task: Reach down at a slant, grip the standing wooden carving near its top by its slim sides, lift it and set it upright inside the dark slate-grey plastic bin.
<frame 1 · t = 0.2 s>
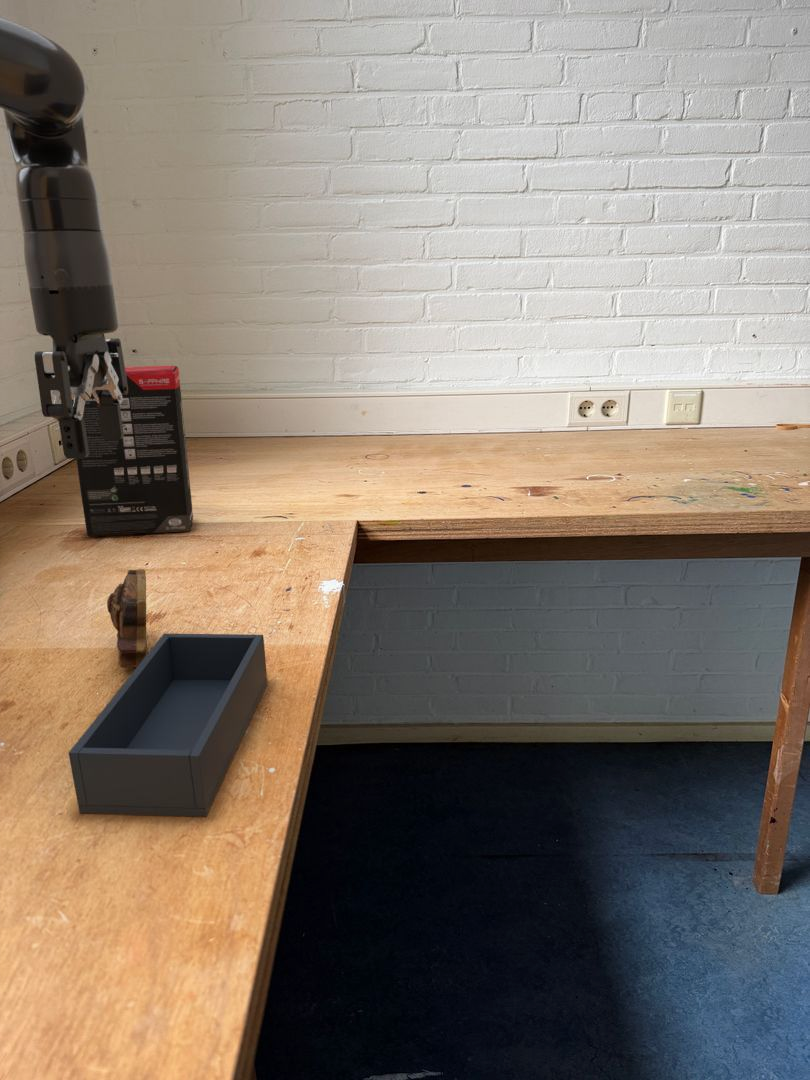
hand: (96, 448, 82), 25 cm above the table, tool pointing down, fingers open, 8 cm apart
graphics card box: (143, 531, 135), on the table
wooden carving: (137, 660, 91), on the table
bin: (185, 740, 75), on the table
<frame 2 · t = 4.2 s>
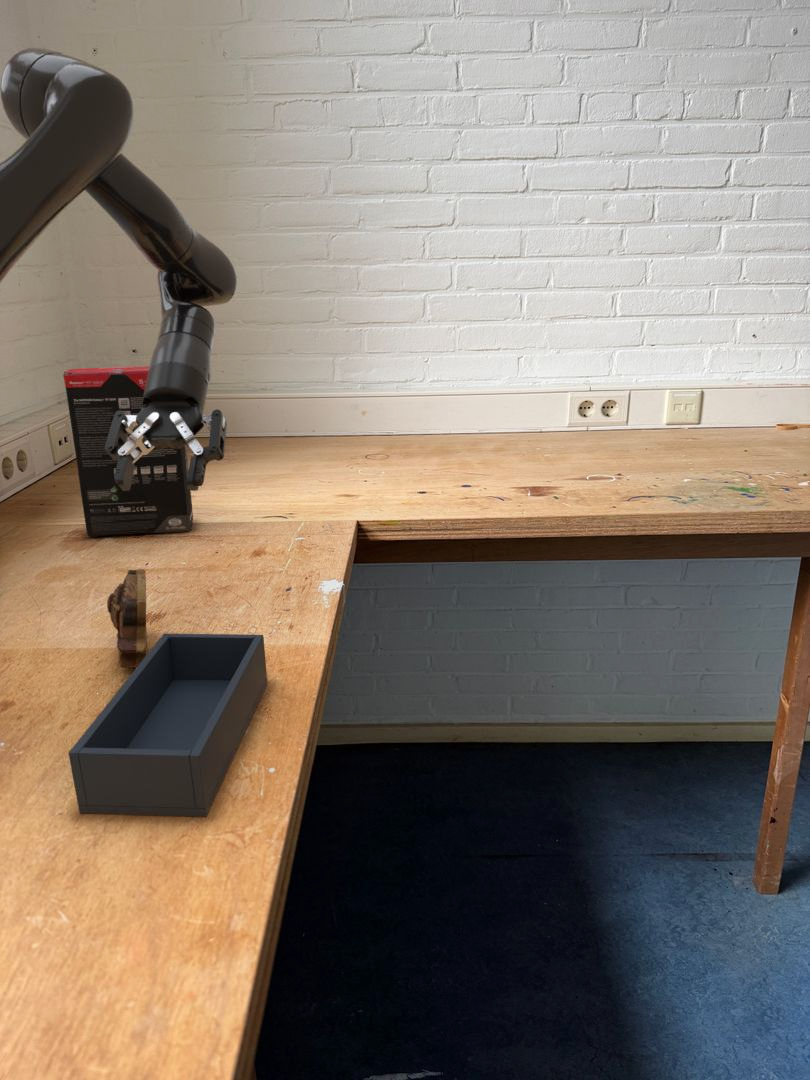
hand: (157, 487, 96), 17 cm above the table, tool tilted 45°, fingers open, 8 cm apart
nothing on the table moved.
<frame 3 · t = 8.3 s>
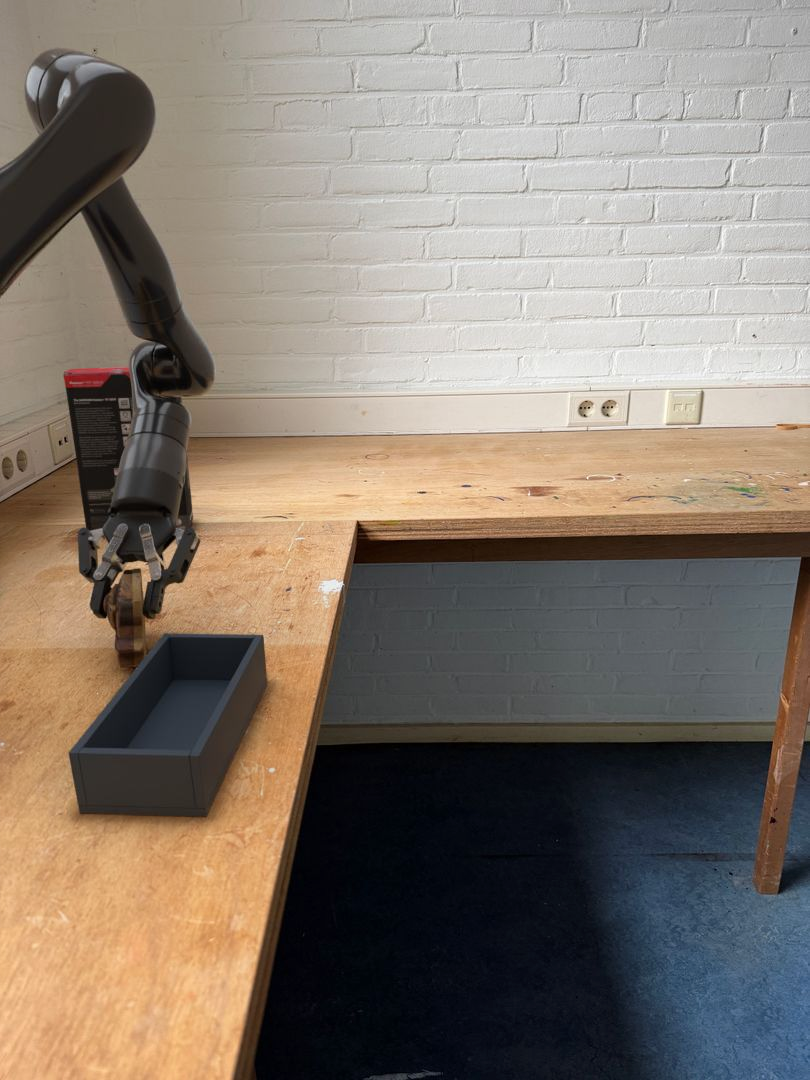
hand: (124, 615, 87), 6 cm above the table, tool tilted 45°, fingers closed on wooden carving, 5 cm apart
wooden carving: (137, 659, 91), on the table, touching gripper
everything else where it was.
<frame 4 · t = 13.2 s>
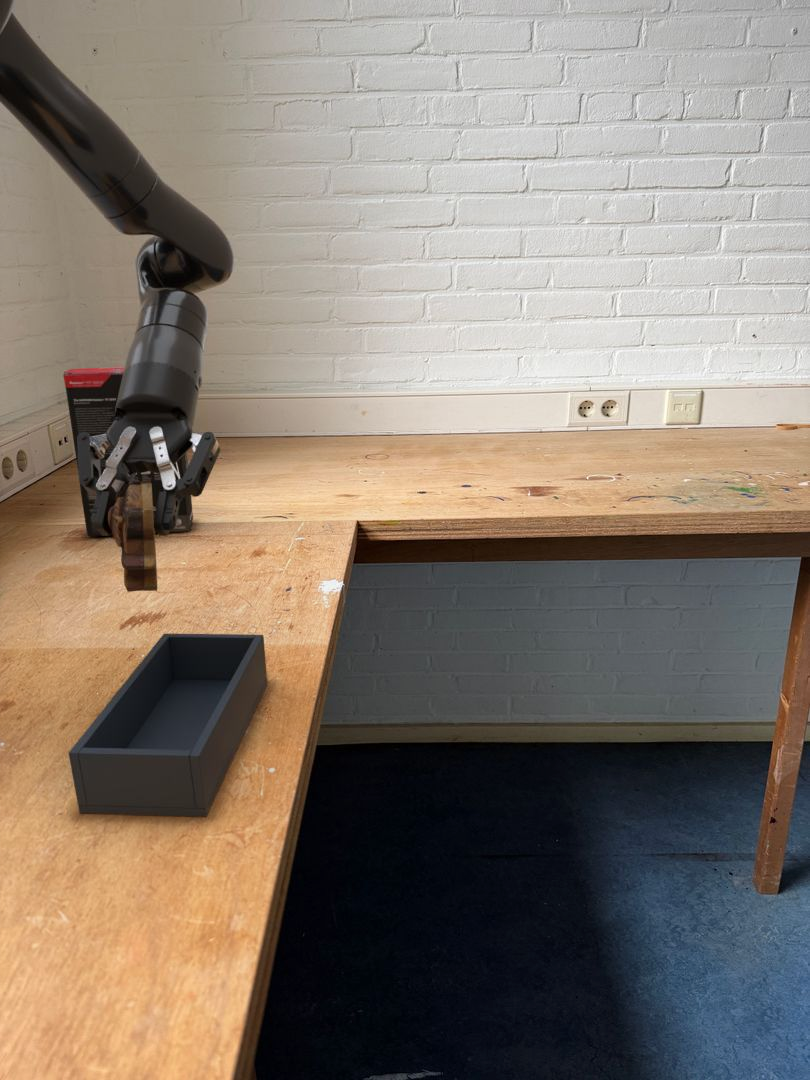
hand: (132, 531, 74), 19 cm above the table, tool tilted 45°, fingers closed on wooden carving, 5 cm apart
wooden carving: (146, 586, 78), point 13 cm above the table, touching gripper
everything else where it was.
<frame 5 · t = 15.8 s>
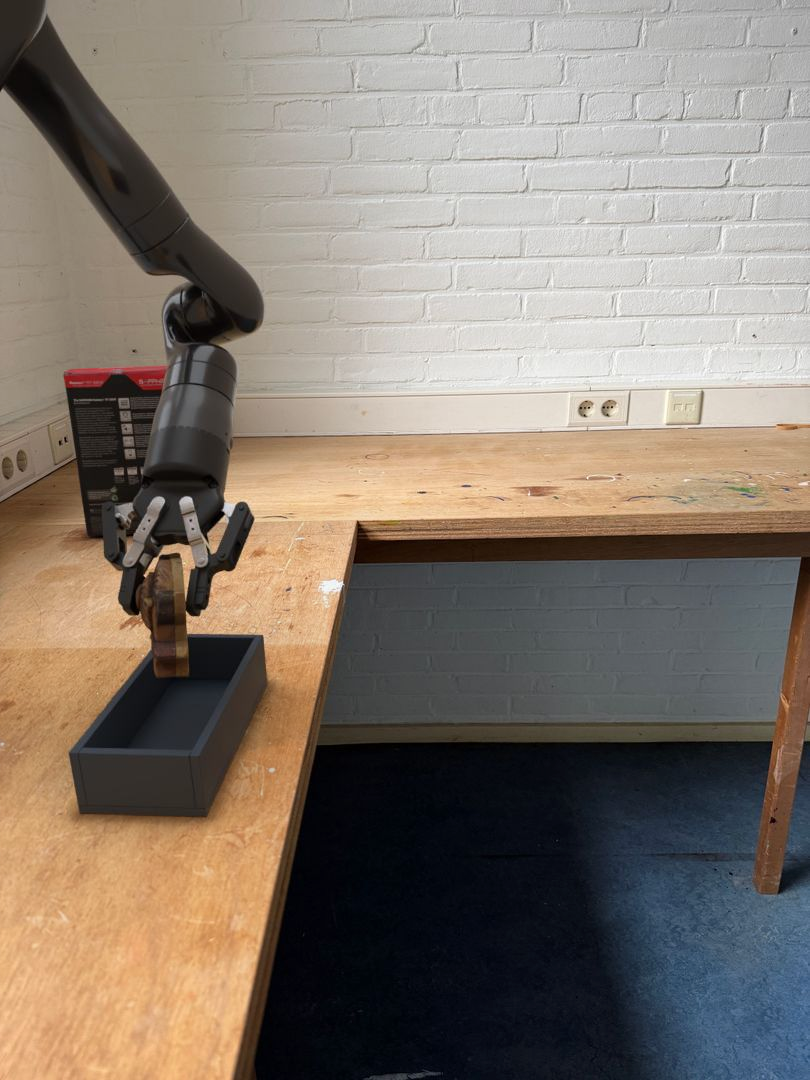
hand: (161, 612, 69), 14 cm above the table, tool tilted 45°, fingers closed on wooden carving, 5 cm apart
wooden carving: (176, 666, 73), point 8 cm above the table, touching gripper
everything else where it was.
when the fingers open (7 cm above the table, at t = 18.2 s): wooden carving stays where it is, resting on bin.
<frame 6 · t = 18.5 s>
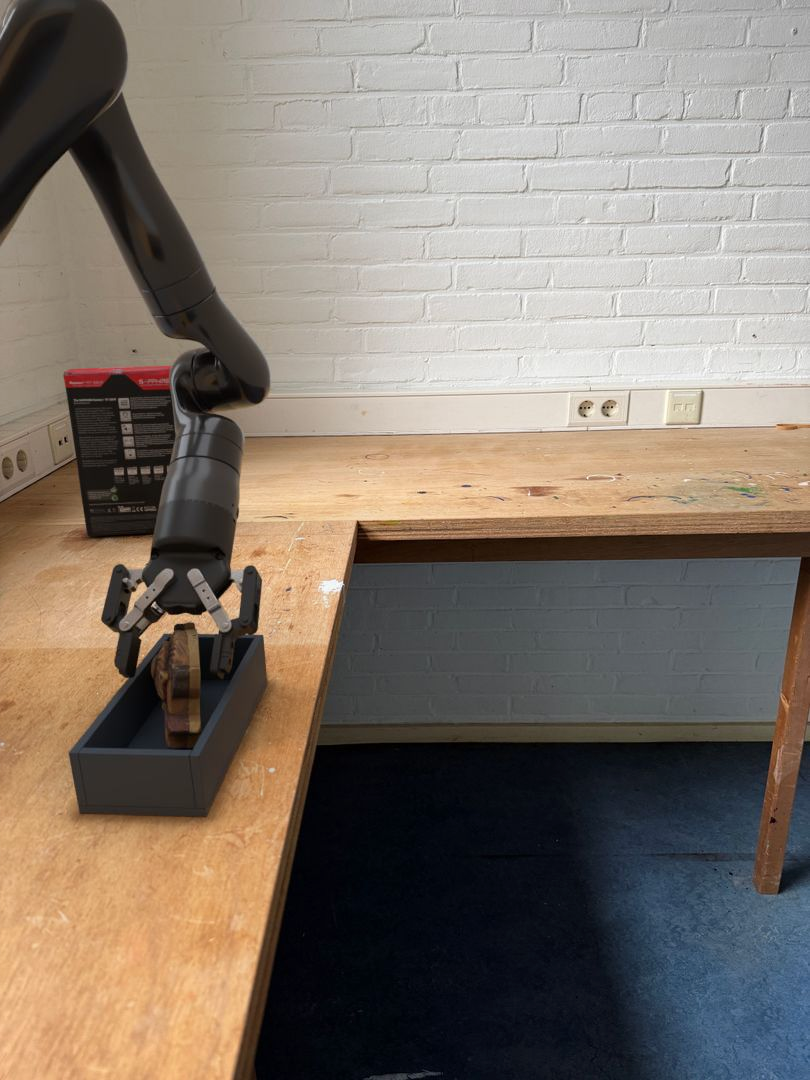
hand: (171, 676, 71), 8 cm above the table, tool tilted 45°, fingers open, 8 cm apart
wooden carving: (185, 733, 75), point 1 cm above the table, touching bin
everything else where it was.
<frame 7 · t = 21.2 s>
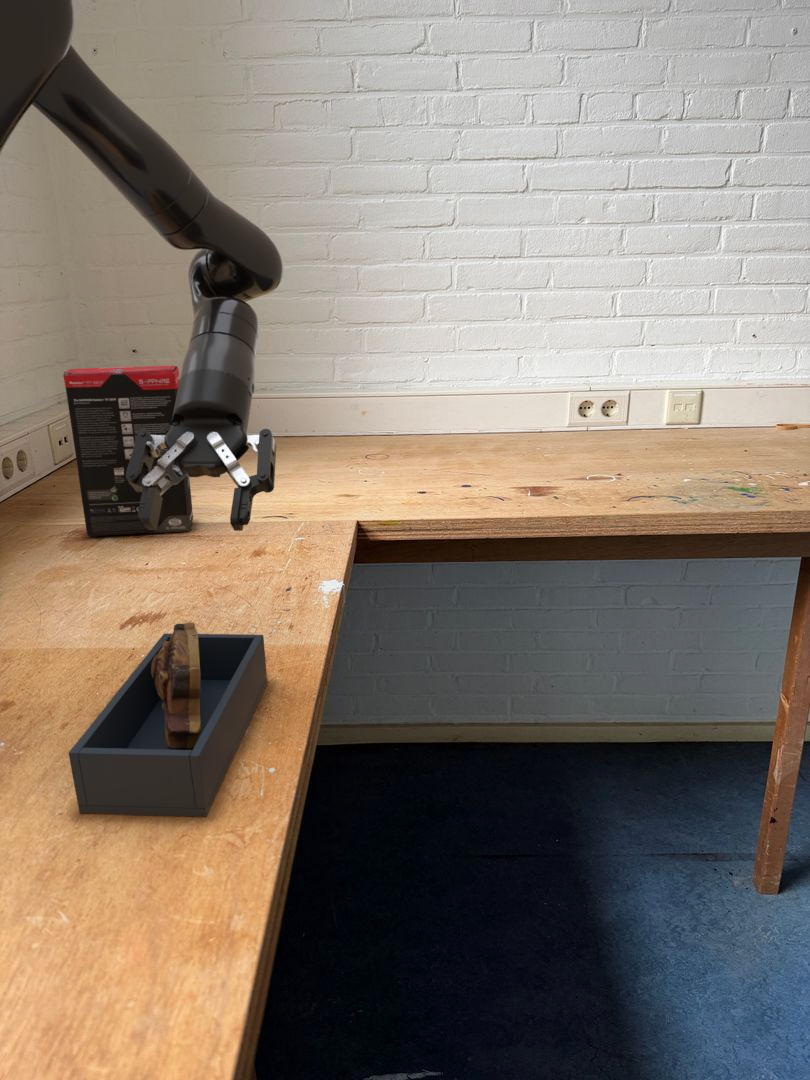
hand: (192, 527, 76), 18 cm above the table, tool tilted 45°, fingers open, 8 cm apart
nothing on the table moved.
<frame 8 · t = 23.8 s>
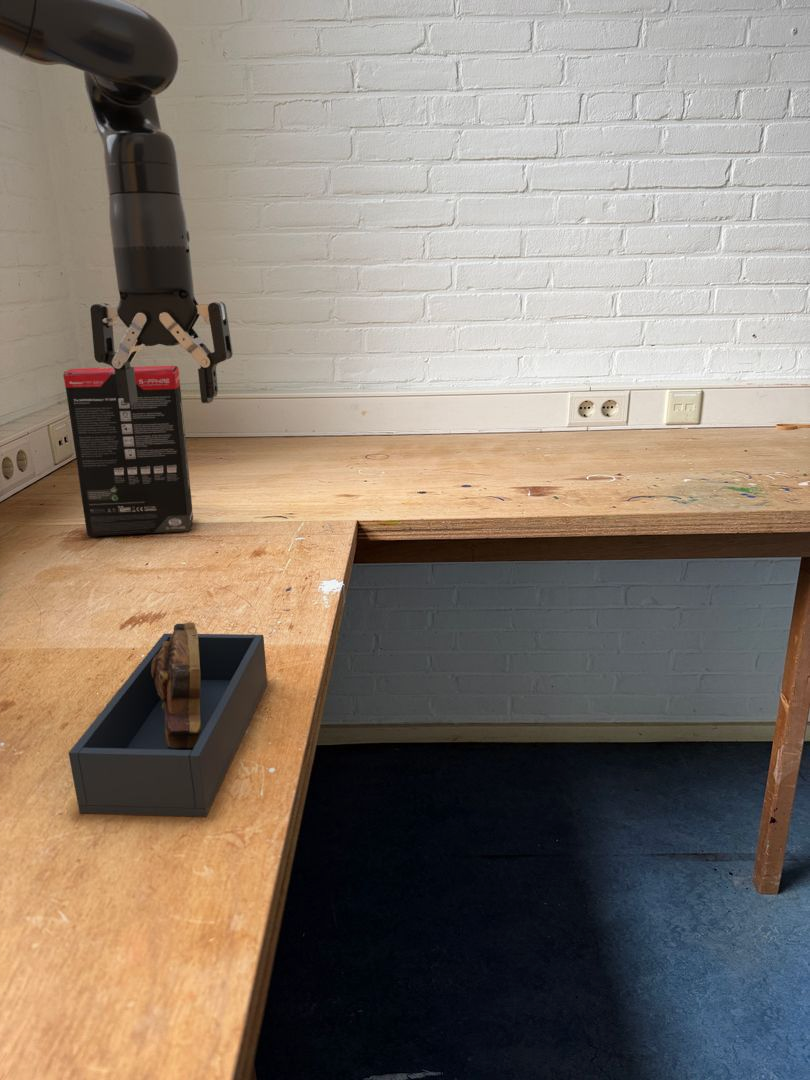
hand: (169, 402, 87), 28 cm above the table, tool pointing down, fingers open, 8 cm apart
nothing on the table moved.
at the end: wooden carving inside the target area in the bin (0.2 cm from its centre), point 0.6 cm above the bin's base; wooden carving tilted 0°; the gripper is holding nothing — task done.
